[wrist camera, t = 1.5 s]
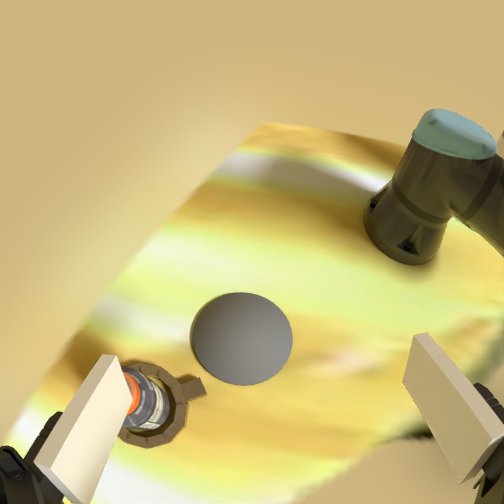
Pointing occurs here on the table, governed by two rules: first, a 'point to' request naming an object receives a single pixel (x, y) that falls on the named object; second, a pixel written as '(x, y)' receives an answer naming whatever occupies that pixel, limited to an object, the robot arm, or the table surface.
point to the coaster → (242, 338)
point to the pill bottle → (144, 402)
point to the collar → (182, 397)
